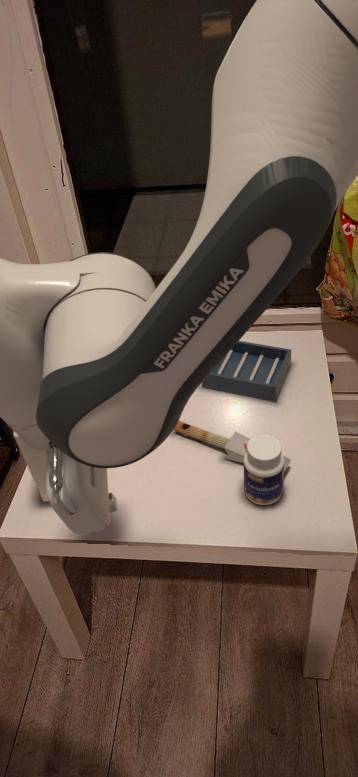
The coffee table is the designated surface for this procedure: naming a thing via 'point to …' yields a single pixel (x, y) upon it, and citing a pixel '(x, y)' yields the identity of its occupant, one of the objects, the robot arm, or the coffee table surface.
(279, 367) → the drying rack
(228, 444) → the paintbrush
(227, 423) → the coffee table surface
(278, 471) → the pill bottle
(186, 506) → the coffee table surface
